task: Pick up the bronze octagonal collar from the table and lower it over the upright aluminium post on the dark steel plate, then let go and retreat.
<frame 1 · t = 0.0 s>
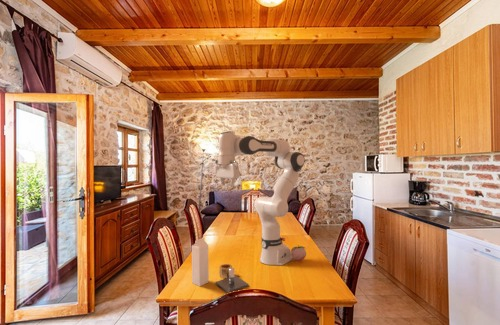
hand: (227, 186, 138), 48 cm above the table, fingers open, 8 cm apart
grey peg stand: (231, 285, 125), on the table
milk: (200, 282, 128), on the table
decorative fruit: (298, 261, 154), on the table
collar: (225, 275, 136), on the table
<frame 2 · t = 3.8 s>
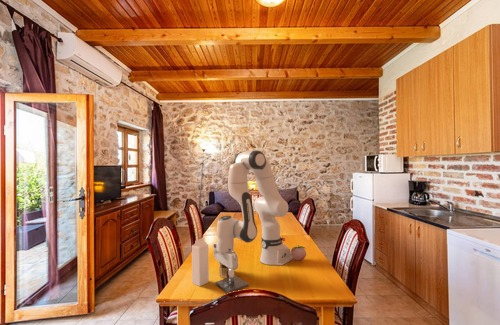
hand: (225, 272, 136), 2 cm above the table, fingers closed on collar, 6 cm apart
collar: (225, 275, 136), on the table, touching gripper
everything else where it was.
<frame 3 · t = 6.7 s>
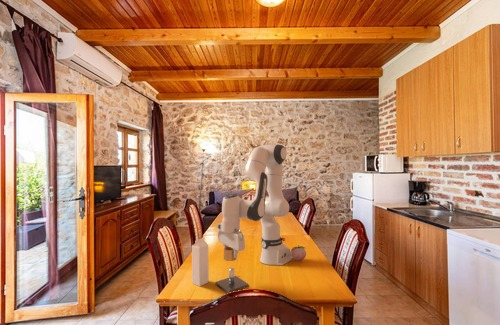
hand: (230, 255, 125), 15 cm above the table, fingers closed on collar, 6 cm apart
collar: (230, 258, 125), point 13 cm above the table, touching gripper
everything else where it was.
when the fingers open (4 cm above the table, at t = 9.7 s): collar drops 1 cm, resting on grey peg stand.
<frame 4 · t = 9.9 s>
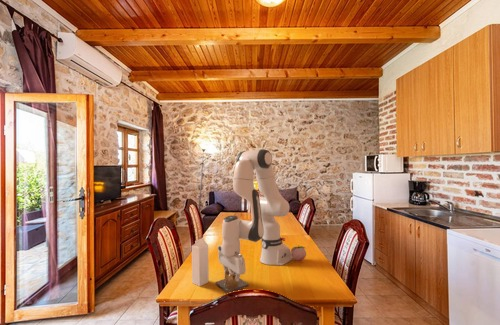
hand: (231, 277, 125), 4 cm above the table, fingers open, 8 cm apart
collar: (231, 283, 125), point 1 cm above the table, touching grey peg stand
everything else where it was.
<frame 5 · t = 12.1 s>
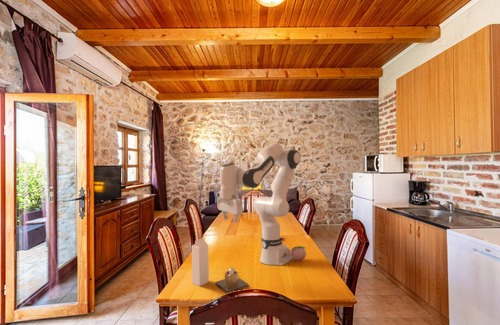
hand: (230, 220, 132), 30 cm above the table, fingers open, 8 cm apart
nothing on the table moved.
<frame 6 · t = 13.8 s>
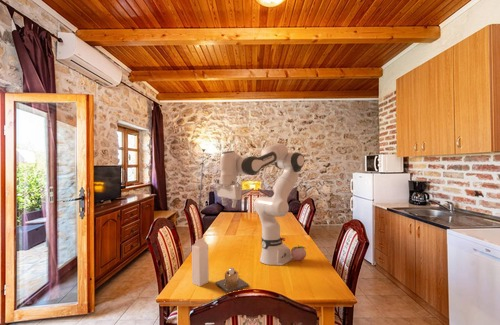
hand: (229, 206, 136), 37 cm above the table, fingers open, 8 cm apart
nothing on the table moved.
at the end: collar 0.1 cm off-centre on the grey peg stand, point 1.0 cm above the grey peg stand's base; the gripper is holding nothing; collar tilted 0° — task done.
